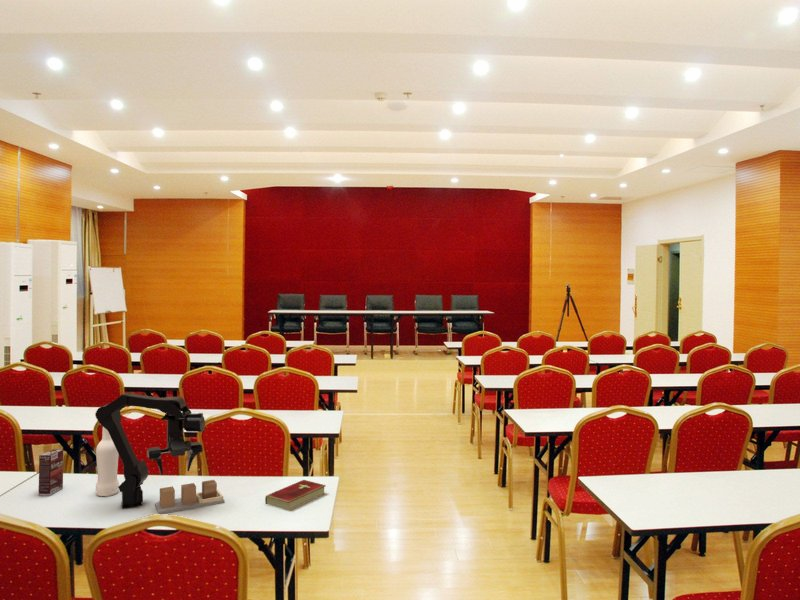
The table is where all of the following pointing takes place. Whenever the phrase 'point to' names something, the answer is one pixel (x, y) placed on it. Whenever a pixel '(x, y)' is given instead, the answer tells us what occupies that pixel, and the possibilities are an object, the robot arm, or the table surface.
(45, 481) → the supplement box
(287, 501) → the hardcover book
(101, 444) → the bottle
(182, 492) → the holder
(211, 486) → the walnut block
